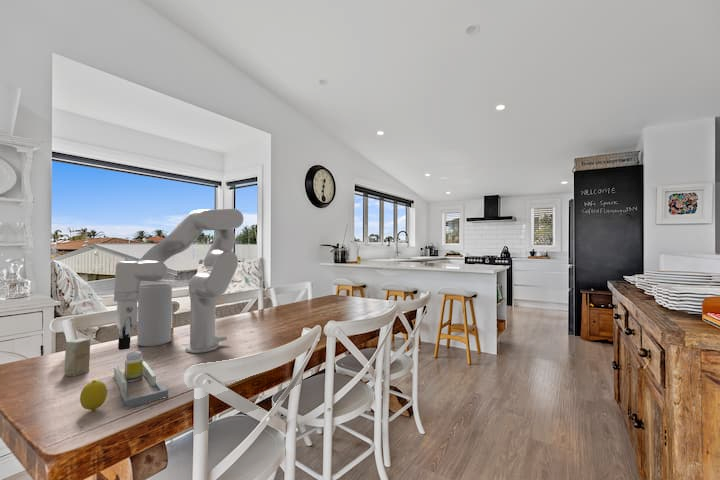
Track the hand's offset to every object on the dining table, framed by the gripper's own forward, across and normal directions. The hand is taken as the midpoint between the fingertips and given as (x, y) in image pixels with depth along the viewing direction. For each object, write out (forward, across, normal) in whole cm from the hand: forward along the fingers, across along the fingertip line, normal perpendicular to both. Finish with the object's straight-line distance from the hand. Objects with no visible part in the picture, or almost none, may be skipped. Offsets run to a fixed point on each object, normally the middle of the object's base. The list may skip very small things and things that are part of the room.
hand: (123, 348), depth 117 cm
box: (+8, +5, +12) cm, 15 cm away
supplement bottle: (+7, -13, -1) cm, 15 cm away
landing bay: (+7, -28, -1) cm, 29 cm away
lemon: (+8, -30, +10) cm, 32 cm away
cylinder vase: (+6, +27, -15) cm, 32 cm away
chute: (+7, -14, -1) cm, 16 cm away
